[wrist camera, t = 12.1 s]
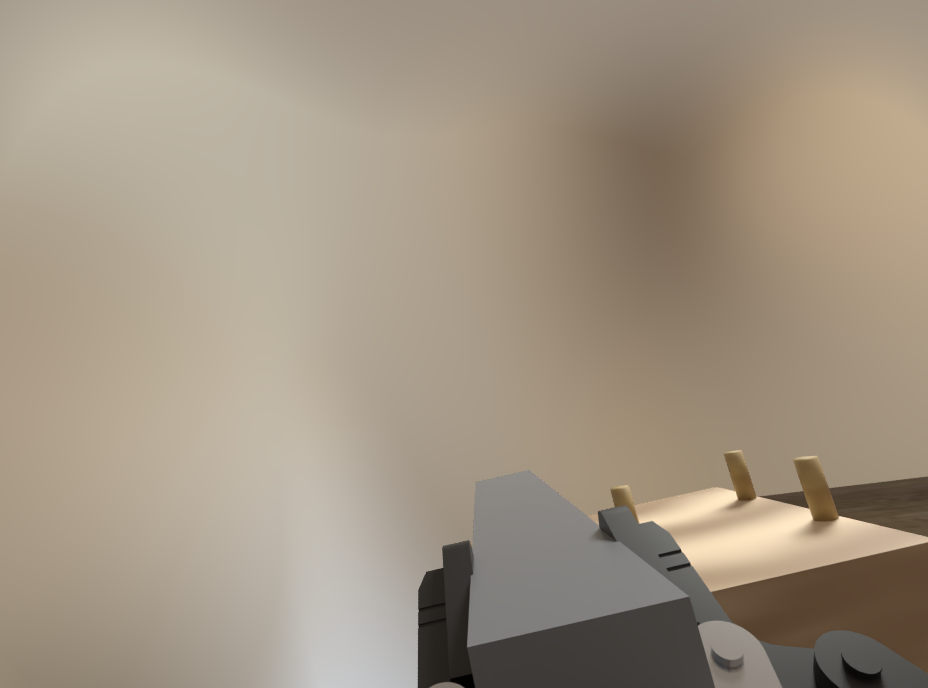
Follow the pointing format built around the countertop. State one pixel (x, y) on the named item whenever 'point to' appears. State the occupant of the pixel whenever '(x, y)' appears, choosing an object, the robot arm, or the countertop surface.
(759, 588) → the oak block
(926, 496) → the countertop surface
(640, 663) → the bar
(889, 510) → the countertop surface
